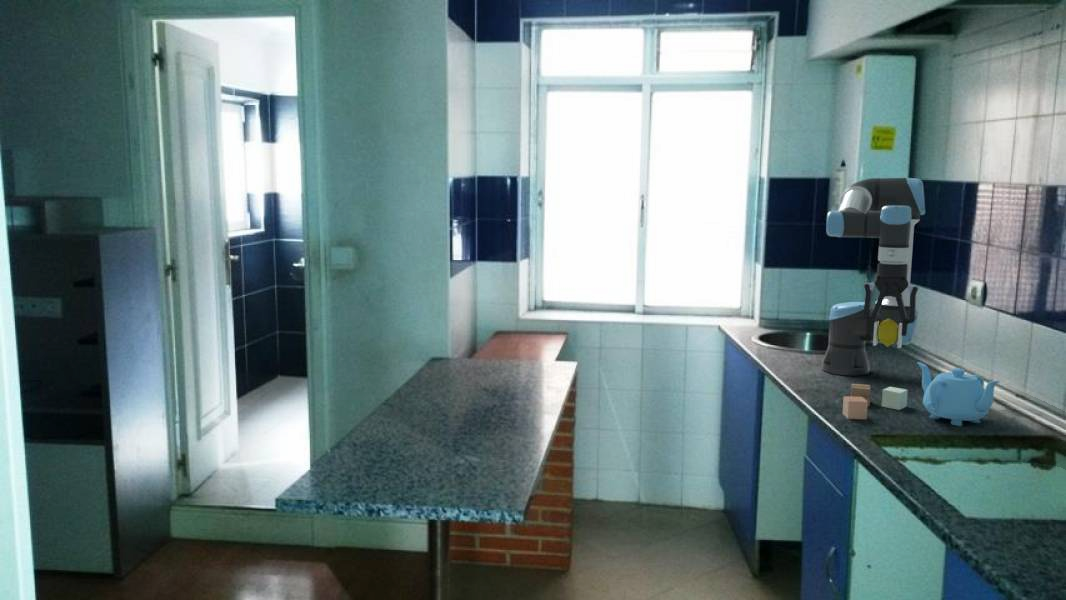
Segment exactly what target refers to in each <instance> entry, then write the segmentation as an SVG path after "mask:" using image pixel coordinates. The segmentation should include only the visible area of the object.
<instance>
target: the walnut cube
mask: <svg viewBox="0 0 1066 600" xmlns="http://www.w3.org/2000/svg"><path fill="white" fill-rule="evenodd" d="M850 389H851V390H850V396H851V397H863V398H864V399H865V400H866V401H867V402H868V407H870V404H871V385H870V384H860V383H851V387H850Z"/></svg>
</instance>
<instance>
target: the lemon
mask: <svg viewBox="0 0 1066 600" xmlns="http://www.w3.org/2000/svg"><path fill="white" fill-rule="evenodd" d="M898 332H899V327H898V325H897V323H896V322H894V321H893V320H891V319H887V320H884V321H882V322H881V323H880V325H879V327H878V330H877V336H878V339H879V341H880V342H881V343H880V344H883V345H884V346H885V348H886V347H887V348H888V347H890V346H891V345H895V344H894V343H895V342H896V341H897V340H898Z"/></svg>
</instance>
